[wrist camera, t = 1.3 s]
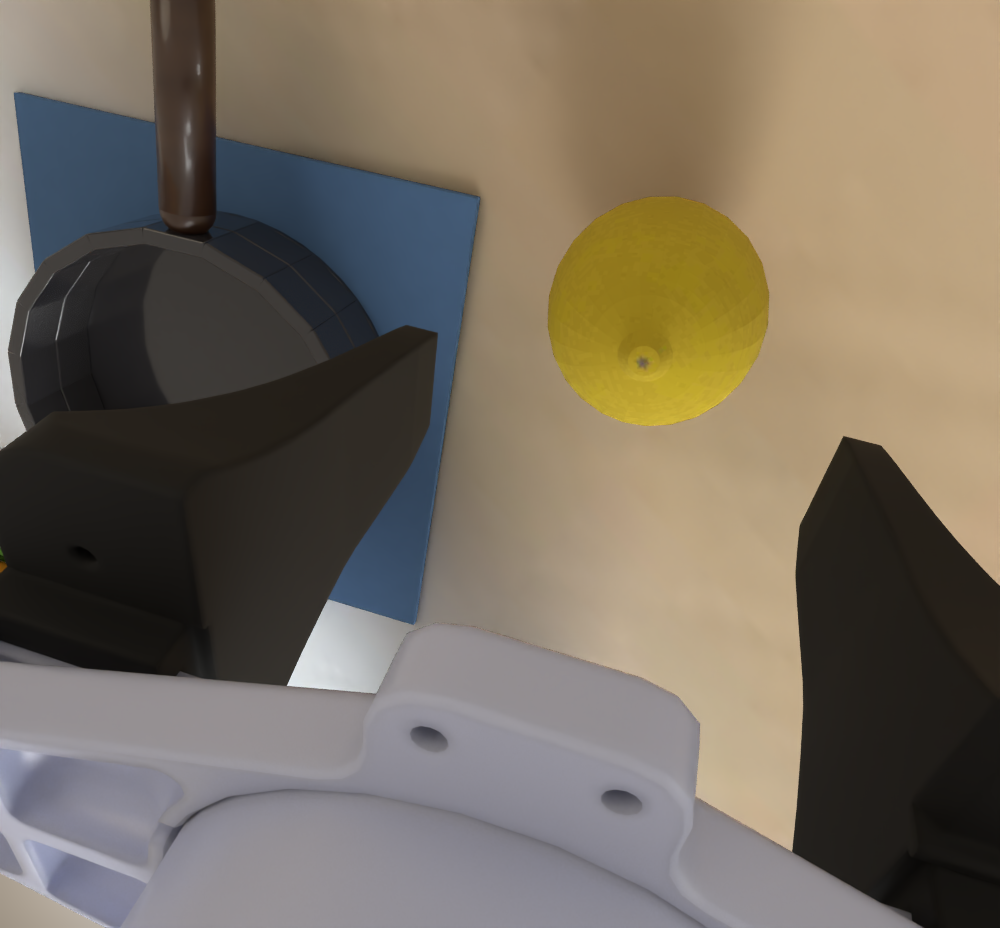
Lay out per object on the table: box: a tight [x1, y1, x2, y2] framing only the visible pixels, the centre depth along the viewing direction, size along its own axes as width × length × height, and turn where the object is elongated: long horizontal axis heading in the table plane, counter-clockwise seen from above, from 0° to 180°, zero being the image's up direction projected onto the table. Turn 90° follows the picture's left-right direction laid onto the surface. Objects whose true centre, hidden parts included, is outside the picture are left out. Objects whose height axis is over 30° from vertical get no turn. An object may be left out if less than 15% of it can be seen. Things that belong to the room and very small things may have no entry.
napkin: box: [14, 92, 480, 625], centre depth 29 cm, size 17×16×1 cm
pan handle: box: [150, 0, 217, 235], centre depth 22 cm, size 9×2×2 cm, turn 170°
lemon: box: [548, 197, 769, 426], centre depth 21 cm, size 6×6×8 cm
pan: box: [8, 211, 379, 431], centre depth 28 cm, size 13×13×4 cm
